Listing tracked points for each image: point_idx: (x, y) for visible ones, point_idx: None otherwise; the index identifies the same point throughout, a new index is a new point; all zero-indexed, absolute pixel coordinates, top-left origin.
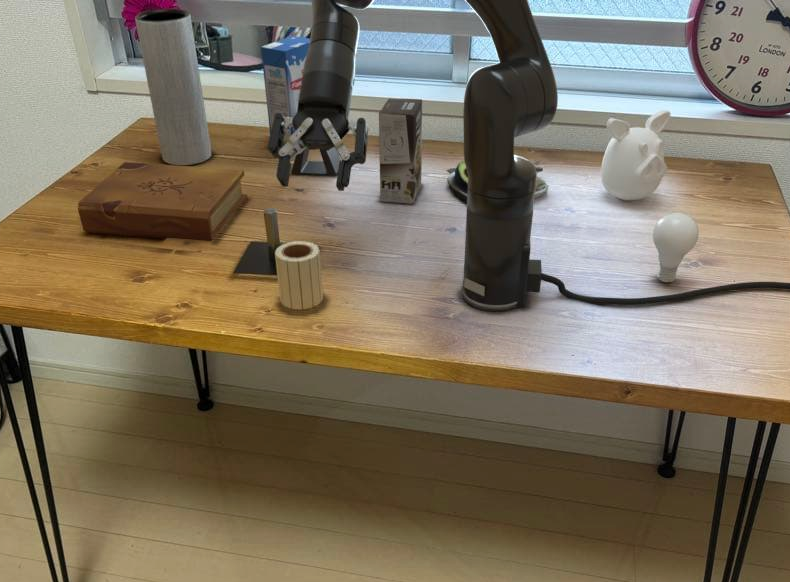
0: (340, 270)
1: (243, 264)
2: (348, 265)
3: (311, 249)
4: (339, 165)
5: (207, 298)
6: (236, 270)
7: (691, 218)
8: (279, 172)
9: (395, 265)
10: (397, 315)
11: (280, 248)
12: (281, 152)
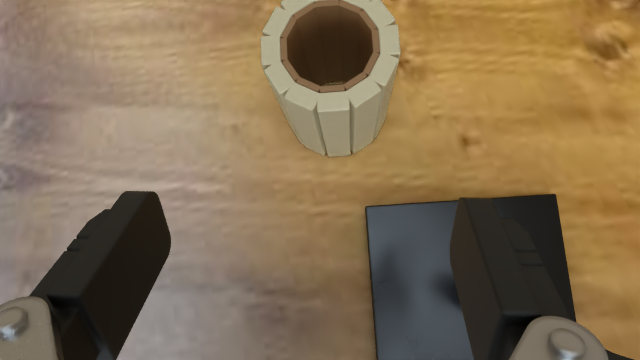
0: (282, 280)
1: (547, 245)
2: (267, 311)
3: (286, 61)
4: (93, 272)
5: (568, 89)
6: (551, 209)
7: None
8: (515, 246)
9: (145, 330)
10: (119, 98)
11: (387, 50)
12: (572, 333)
